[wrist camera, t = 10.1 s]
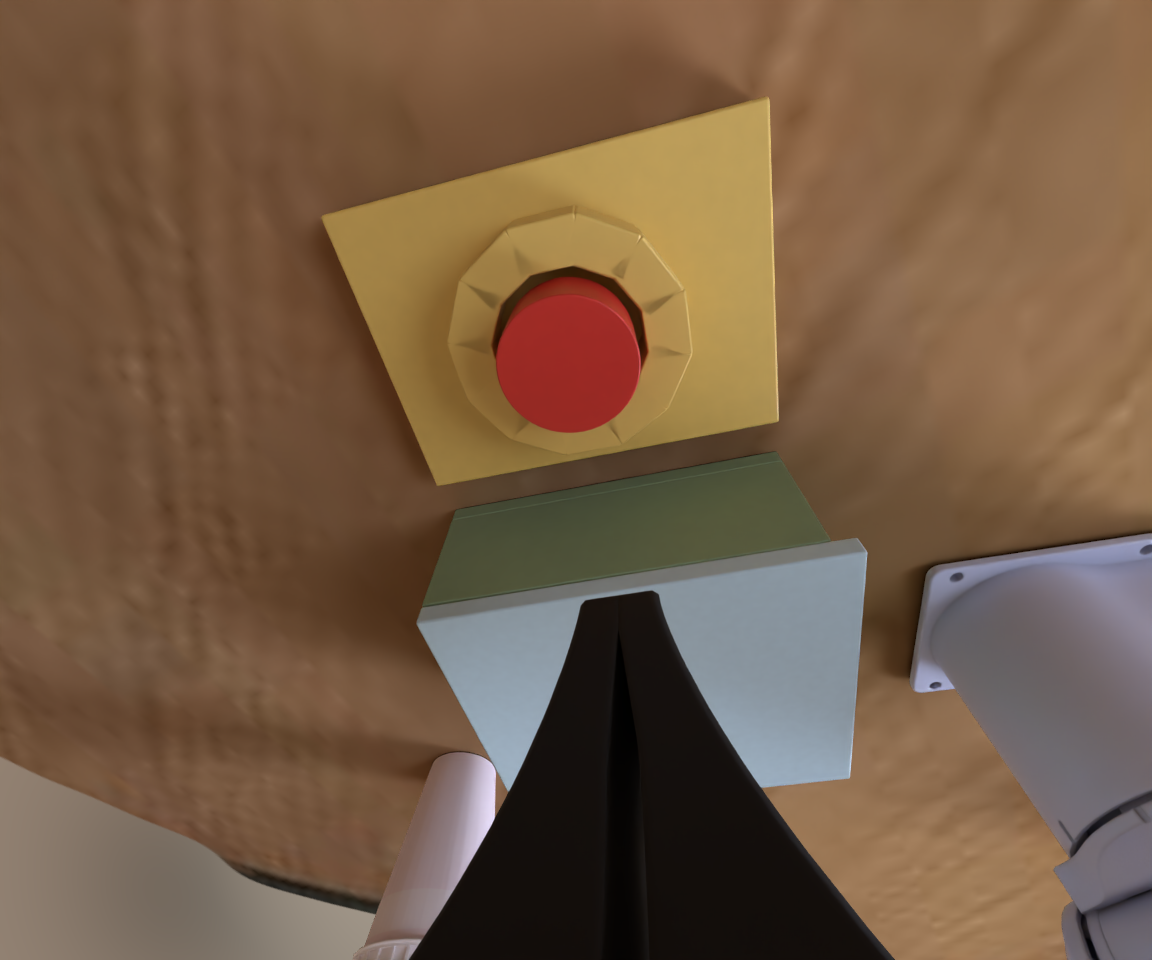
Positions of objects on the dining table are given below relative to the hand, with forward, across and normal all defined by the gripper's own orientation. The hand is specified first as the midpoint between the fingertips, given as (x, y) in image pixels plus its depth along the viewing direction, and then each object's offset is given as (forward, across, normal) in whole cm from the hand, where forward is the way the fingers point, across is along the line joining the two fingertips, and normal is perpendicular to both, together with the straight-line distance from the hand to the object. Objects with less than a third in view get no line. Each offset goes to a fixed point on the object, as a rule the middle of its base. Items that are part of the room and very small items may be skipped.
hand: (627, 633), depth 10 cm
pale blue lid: (+5, 0, +9) cm, 10 cm away
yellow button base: (+10, +1, -3) cm, 11 cm away
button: (+8, +1, -3) cm, 8 cm away
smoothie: (+10, +12, +21) cm, 27 cm away
